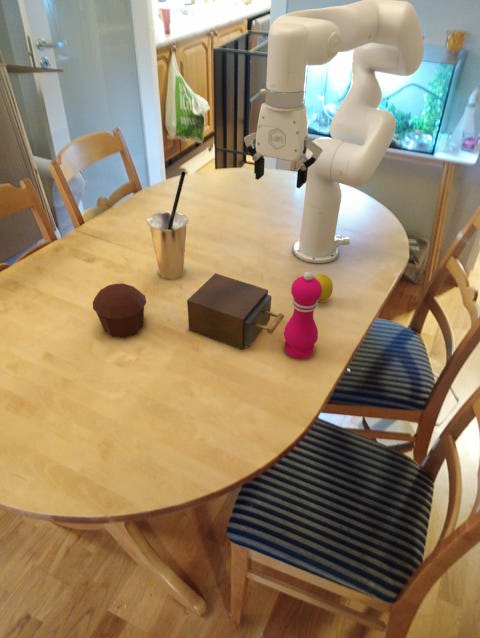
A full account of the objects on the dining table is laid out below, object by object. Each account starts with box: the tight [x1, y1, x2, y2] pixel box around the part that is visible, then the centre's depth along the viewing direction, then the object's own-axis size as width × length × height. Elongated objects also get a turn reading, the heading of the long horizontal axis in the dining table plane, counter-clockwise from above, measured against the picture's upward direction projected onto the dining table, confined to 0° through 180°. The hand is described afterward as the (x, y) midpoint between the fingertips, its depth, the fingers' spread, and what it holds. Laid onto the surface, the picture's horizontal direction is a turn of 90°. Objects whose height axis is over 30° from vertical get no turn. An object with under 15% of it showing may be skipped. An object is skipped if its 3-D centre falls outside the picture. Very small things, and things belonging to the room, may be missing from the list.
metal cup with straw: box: [146, 171, 189, 280], centre depth 115 cm, size 11×11×30 cm
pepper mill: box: [283, 271, 322, 360], centre depth 96 cm, size 7×7×20 cm
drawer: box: [244, 294, 285, 348], centre depth 104 cm, size 17×11×7 cm, turn 62°
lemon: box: [313, 273, 334, 303], centre depth 114 cm, size 6×6×8 cm
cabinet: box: [186, 273, 269, 351], centre depth 106 cm, size 14×12×9 cm
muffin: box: [92, 283, 147, 339], centre depth 105 cm, size 12×11×10 cm
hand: (279, 181), depth 103 cm, fingers open, 9 cm apart
